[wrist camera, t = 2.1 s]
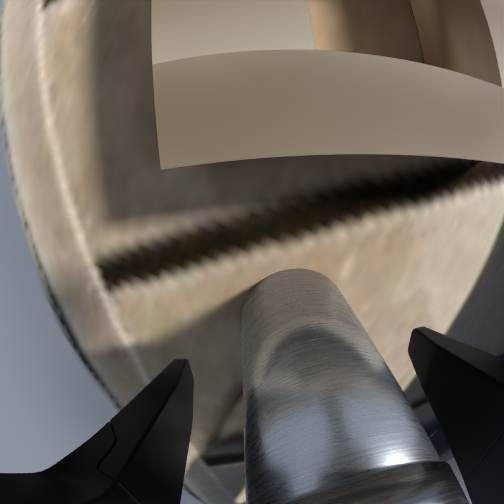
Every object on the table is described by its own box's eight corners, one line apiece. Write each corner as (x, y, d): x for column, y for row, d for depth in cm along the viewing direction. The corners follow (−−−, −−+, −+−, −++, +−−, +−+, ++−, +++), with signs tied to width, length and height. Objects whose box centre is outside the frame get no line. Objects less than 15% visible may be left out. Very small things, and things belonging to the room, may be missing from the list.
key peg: (342, 351, 12) (421, 541, 3) (244, 363, 12) (253, 579, 3) (348, 260, 11) (510, 468, 2) (232, 272, 11) (224, 557, 2)
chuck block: (485, 158, 9) (553, 171, 6) (192, 162, 9) (161, 169, 5) (446, -32, 6) (492, -60, 2) (181, -63, 6) (163, -122, 2)
